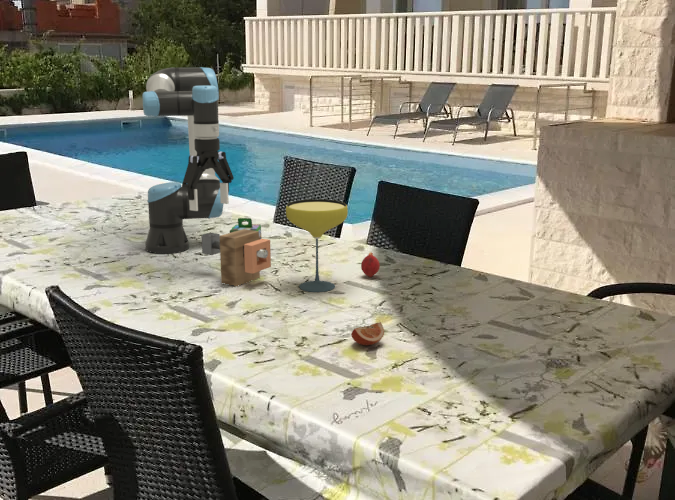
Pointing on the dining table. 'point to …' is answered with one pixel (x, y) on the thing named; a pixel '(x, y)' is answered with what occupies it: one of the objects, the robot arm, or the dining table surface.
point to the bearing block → (236, 257)
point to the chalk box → (247, 226)
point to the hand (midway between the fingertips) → (209, 206)
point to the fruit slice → (368, 334)
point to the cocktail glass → (316, 228)
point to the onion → (370, 265)
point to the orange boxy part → (251, 256)
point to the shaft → (213, 245)
